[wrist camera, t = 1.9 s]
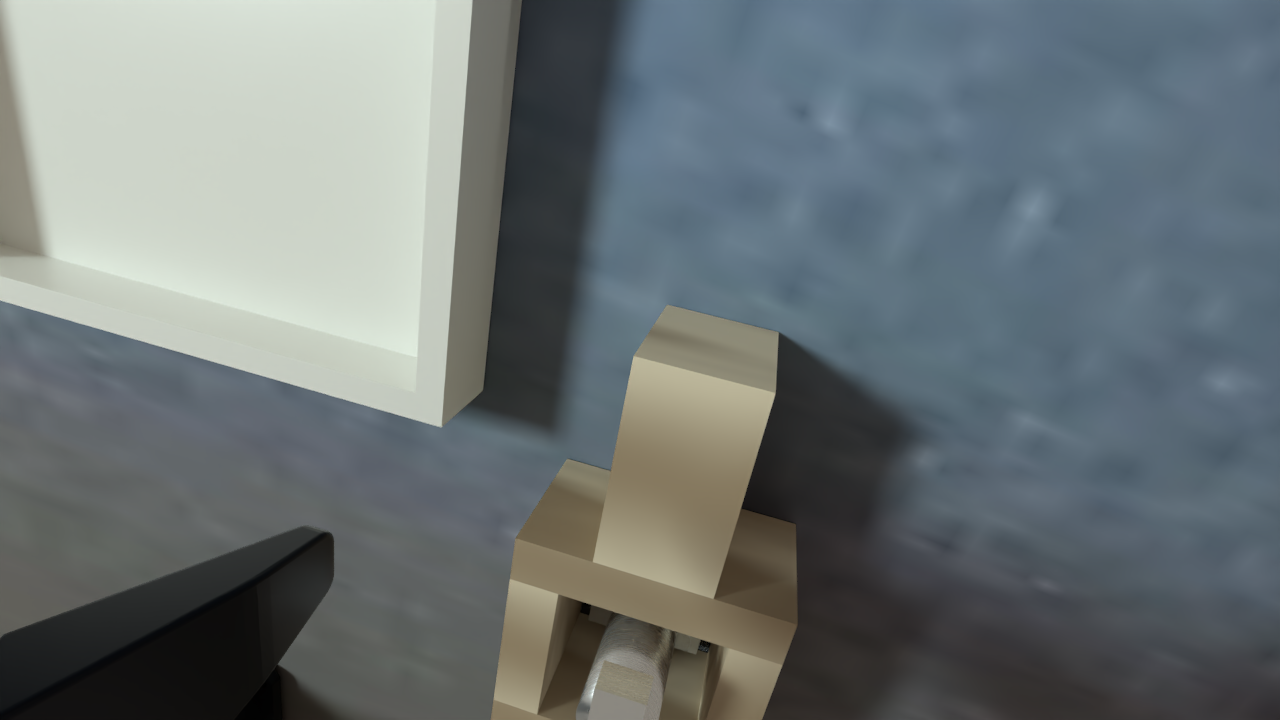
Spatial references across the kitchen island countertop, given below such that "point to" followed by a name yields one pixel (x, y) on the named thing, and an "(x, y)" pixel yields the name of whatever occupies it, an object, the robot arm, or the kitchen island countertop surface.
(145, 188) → the tray
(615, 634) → the t stake
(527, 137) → the kitchen island countertop surface
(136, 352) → the kitchen island countertop surface
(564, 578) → the birch collar
